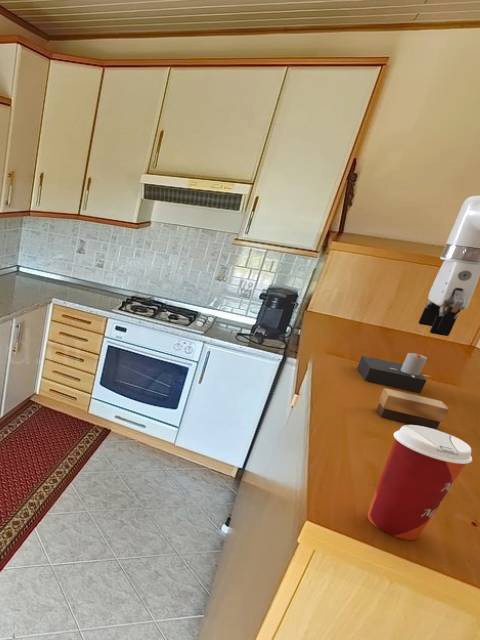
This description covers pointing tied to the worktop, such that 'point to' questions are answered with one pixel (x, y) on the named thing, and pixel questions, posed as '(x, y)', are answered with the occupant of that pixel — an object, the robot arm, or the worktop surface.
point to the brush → (411, 409)
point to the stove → (389, 374)
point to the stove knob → (413, 364)
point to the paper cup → (416, 479)
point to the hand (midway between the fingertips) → (432, 329)
